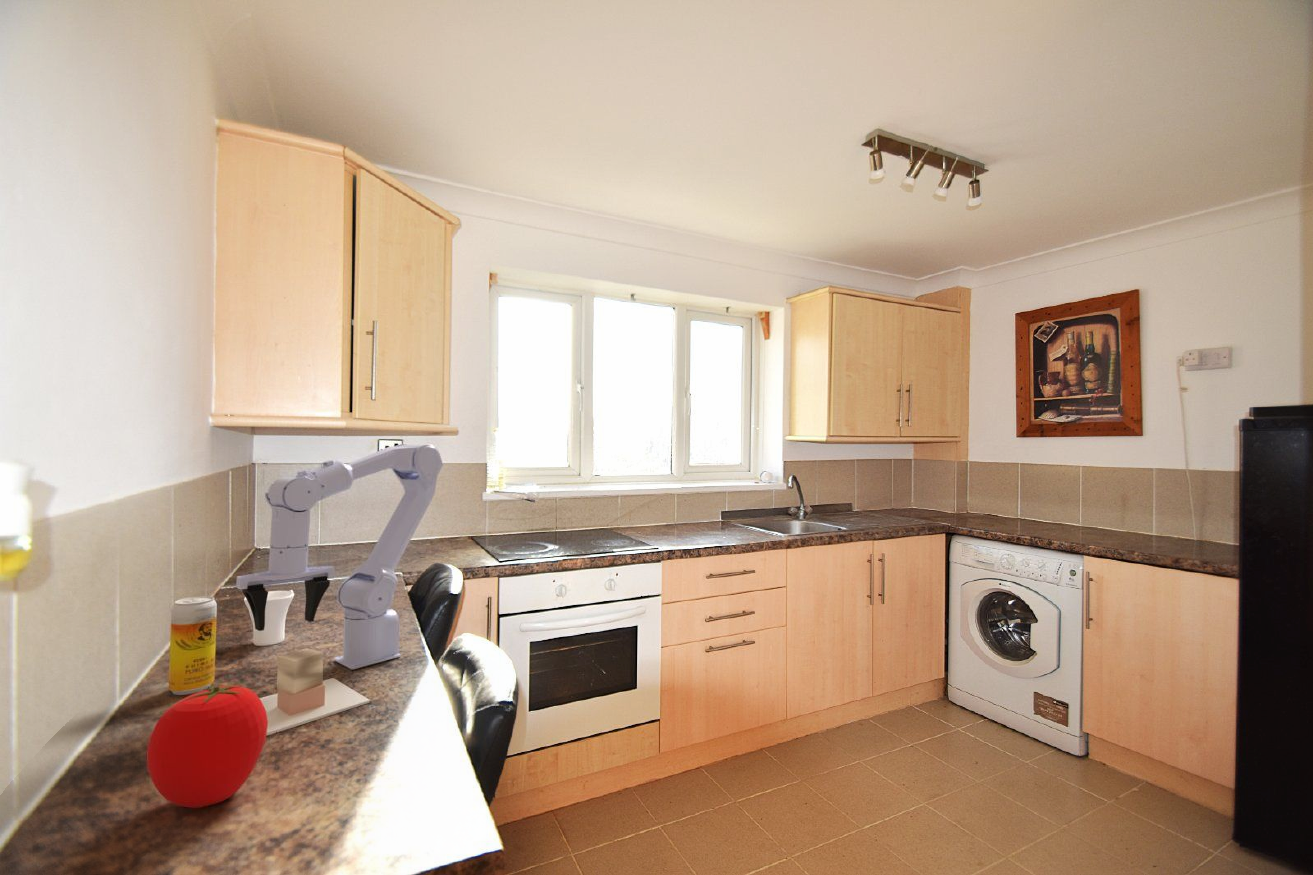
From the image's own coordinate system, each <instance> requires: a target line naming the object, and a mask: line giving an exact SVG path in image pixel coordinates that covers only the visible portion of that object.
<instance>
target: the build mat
mask: <svg viewBox="0 0 1313 875" xmlns="http://www.w3.org/2000/svg"><path fill="white" fill-rule="evenodd" d="M323 685H324V686H325V705H323V706H320V707H317V708H313V709H310V710H307V711H304V712H300V713H297V714H294V715H291V716H289V715H287V714H286V713H285V712H284V711H282V710H281V709H280V708H279V707H277V698H278V692H277V693H275V694H270V695H267V696H263V697H259V698H260V700H261V702H262V704H263V706H264V708H265V710H266V714H267V720H268V726H267V734H266V737H267V736H271V735H273V734H277V733H279V732H283V731H285V730H289V729H292V728H295V727H299V726H301V725H304V724H308V723H310V722H313V721H317V720H320V719H322V718H326V717H327V718H328V717H330V716H333V715H336V714H339V713H342V712H344V711H348V710H352V709H354V708H357V707H360V706H363V705H366V704H369V703H370V702H371V700H370V699H369V698H367V697H365V696H364V695H362V694H361V693H359V692H357V691H356V690H354V689H352V688H350V686H347V685H345V684H344V683H342V682H340V681H339V680H337V679H336V678H334V677H332V678H329V679H325V680H324V679H323ZM276 732H277V733H276Z"/></svg>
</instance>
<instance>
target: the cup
mask: <svg viewBox="0 0 1313 875" xmlns="http://www.w3.org/2000/svg"><path fill="white" fill-rule="evenodd" d="M294 597H295V593H294V591H293V589H290V590H271V591H268V596H267V601H266V607H265V627H264V630H262V631H258V630H256V629H255V622H254V618H253V614H252V611H251V608H250V605H249V603H248V601H247V599H246V597H245V596H244V599H243V601H244V603H245V606H246V607H247V610H248V612H249V616H250V619H251V623H252V630H253V635H252V636H253V639H252V643H253V644H254V646H258V647H266V646H274V645H276V644H277V645H278V644H280V643H282V642H284V640H285V639H286V638H285V636H286V635H285V629H286V628H285V627H286V618H287V613H288V612H289V610H288V609H289V608H290V605H291V602H292V600H293V598H294Z"/></svg>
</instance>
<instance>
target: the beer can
mask: <svg viewBox="0 0 1313 875" xmlns="http://www.w3.org/2000/svg"><path fill="white" fill-rule="evenodd" d="M217 607H218V604H217V602H216V600H215V597H214V596H210V595H209V596H208V595H203V596H202V595H200V596H192V597H191V596H190V597H183V598H181V599H177V600H175V601H174V604H173V605H172V608H171V610H170V612H171V613H170V634H169V635H170V640H169V665H168V667H169V669H168V690H169V691H171V692H172V694H174V695H178V696H179V695H180V696H183V695H185V696H186V695H192V694H195V693H198V692H201V691H204V690H208V686H209V687H211V686H212V684H213V683H214V681H215V673H216V644H217V642H216V641H217V613H218V612H217V611H218V608H217Z"/></svg>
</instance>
